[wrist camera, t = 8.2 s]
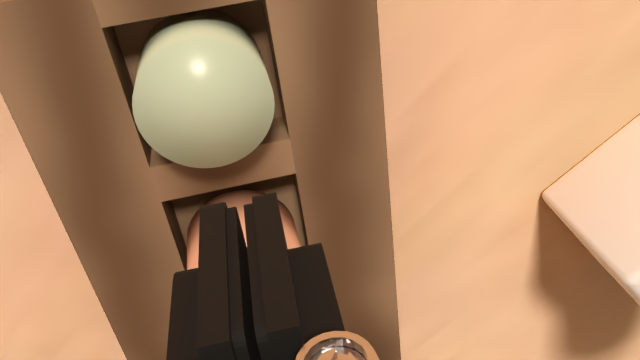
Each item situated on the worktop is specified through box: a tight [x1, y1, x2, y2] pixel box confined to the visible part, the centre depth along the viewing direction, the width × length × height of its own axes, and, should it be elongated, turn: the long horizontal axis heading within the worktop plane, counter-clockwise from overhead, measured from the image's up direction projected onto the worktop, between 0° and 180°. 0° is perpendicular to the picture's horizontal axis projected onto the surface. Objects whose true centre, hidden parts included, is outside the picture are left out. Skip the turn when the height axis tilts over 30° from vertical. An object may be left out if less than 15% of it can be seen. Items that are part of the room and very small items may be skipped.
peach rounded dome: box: [187, 190, 301, 270], centre depth 23 cm, size 5×5×4 cm
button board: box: [0, 0, 401, 360], centre depth 25 cm, size 13×22×3 cm, turn 7°
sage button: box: [132, 9, 275, 168], centre depth 20 cm, size 5×5×4 cm
